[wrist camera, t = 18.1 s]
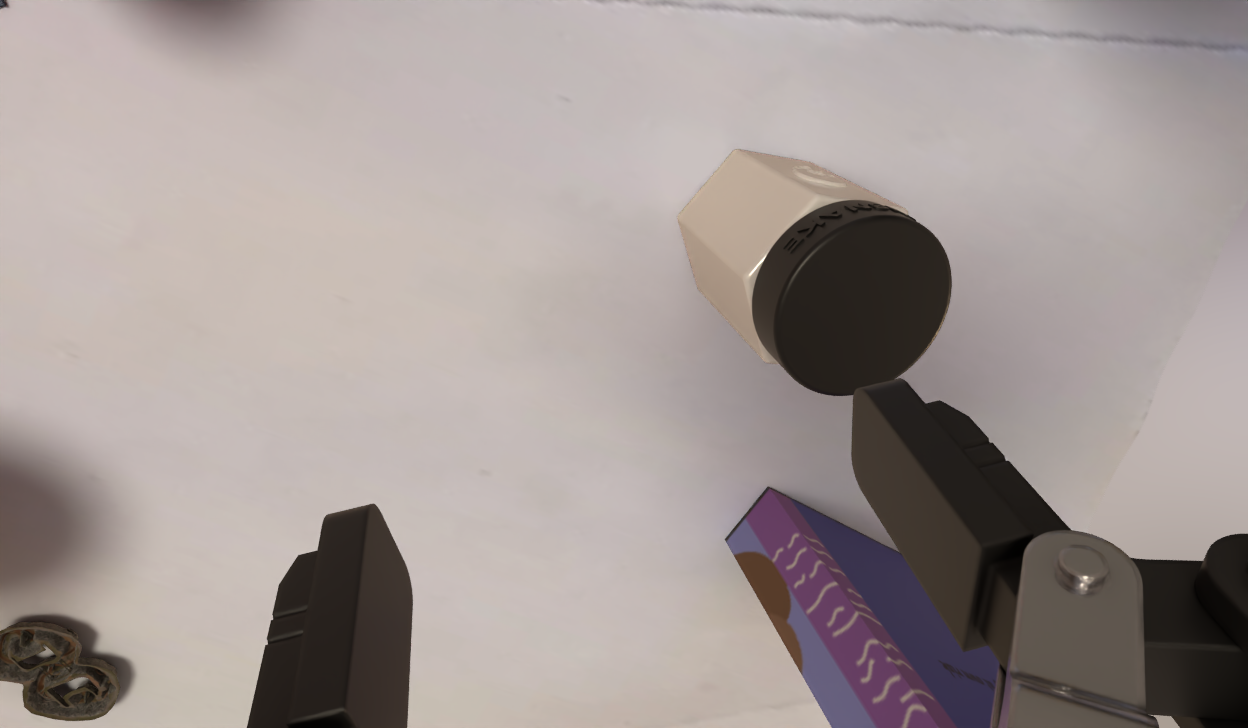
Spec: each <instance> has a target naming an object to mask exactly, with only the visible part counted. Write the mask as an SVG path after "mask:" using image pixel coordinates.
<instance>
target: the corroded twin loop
mask: <svg viewBox="0 0 1248 728" xmlns="http://www.w3.org/2000/svg"><path fill="white" fill-rule="evenodd" d="M42 644H45V645H46V646H47V647H48V648H49V649H50V650H51V651H53V652H54V654H55V655H56V657H52V658H47V659H45V660H43V661H41V662H39V663H38V664H28V663H23V661H22V660H24V659H26V658H29V657H31V656H33V655H36V654H38V653H40V652H42V651H45V650H46V649H45V648H44V647H43V645H42ZM81 650H82V646H81V644H80V643H79V642H78V635H77V634H76V633H75V632H74V631H73V630H71V629H66V628H62V627H60V626H58V625H56V624H51V623H46V622H31V623H26V622H20V623H17V624H15V625H12V626H9V627H7V628H6V629H4V630H1V631H0V681H7V682H14V683H20V684H23V686H24V689H23V701H24V707H25V708H26V709H27V710H29V711H30V712H31V713H33V714H35V715H40V716H44V717H47V718H52V719H57V720H66V721H84V720H93V719H96V718H99V717H101V716H104V715H105V714H107V713H108V711H109V710H111V709H112V707H113V706H114V704H115V702H116V699H117V696H118V693H119V690H120V685H119V682H118V679H117V672H116V668H115V667H113V666H111V665H109V664H108V663H106V662H105V661H104V660H102V659H95V658H83V657H80V656H79V655H80V653H81ZM79 677H86V678H88V679H89V680H90V681H91V682H92V683H93V684H94V685H95V686H96V687H97V688H98V689H97V688H95V687H93V686H91V685H90V684H86V685H83V686H81V687H78V689H77V690H74V691H71V692H69V693H68V694H66V695H65V696H63V698H62V697H61V696H60V695H59V694H58V693H57V692H55V690H54V689H53V687H56V686H58V685H61V684H64V683H66V682H69V681H71V680H73V679H75V678H79Z"/></svg>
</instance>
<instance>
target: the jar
mask: <svg viewBox="0 0 1248 728" xmlns="http://www.w3.org/2000/svg"><path fill="white" fill-rule="evenodd" d="M677 219H678V223H679V226H680V229H681V233H682V236H683V240H684V243H685V247H686V250H687V254H688V257H689V260H690V264H691V267H692V271H693V274H694V278H695V281H696V285H697V288H698V290H699V291H700V292H701V293H702V294H703V295H704V296H705V298H706V299H707V300H708V301H709V302H710V303H711V304H712V305H713V306H714V307H715V308H716V310H717V311H718V312H719V313H720V314H721V315H722V316H723V317H724V318H725V319H726V320H727V321H728V323H729V324H730V325H731V326H732V327H733V328H734V329H735V330H736V331H737V332H738V333H739V335H740V336H741V337H742V338H743V339H744V340H745V341H746V342H747V343H748V344H749V345H750V347H751V348H752V349H753V350H754V351H755V352H756V353H757V354H758V355H759V356H760V358H761V359H762V360H763V361H764V362H766V363H770V364H780V365H781V366H782V367H783V368H784V369H785V370H786V371H787V373H788V374H789V375H790V376H791V377H792V378H793V379H794V380H796V381H797V382H798V383H799V384H801V385H802V386H804V387H806V388H808V389H810V390H812V391H815V392H818V393H821V394H825V395H832V396H847V395H854V392H855V390H856V389H857V388H861V387H865V386H869V385H873V384H877V383H881V382H886V381H890V380H894V379H895V378H897V377H898V376H900V375H901V374H903V373H904V372H905V371H906V370H908V369H909V368H910V367H911V366H912V365H913V364H914V363H915V362H916V361H917V360H918V359H919V358H920V357H921V356H922V355H923V354H924V353H925V351H926V350H927V349H928V347H929V346H930V345H931V343H932V342H933V340H934V339H935V337H936V336H937V334H938V332H939V330H940V328H941V326H942V324H943V321H944V319H945V316H946V313H947V310H948V307H949V303H950V297H951V288H952V278H951V269H950V264H949V260H948V257H947V255H946V252H945V250H944V248H943V246H942V245H941V243H940V242H939V240H938V239H937V238H936V237H935V235H934V234H933V233H932V232H931V231H930V230H928V229H927V228H926V227H924V226H923V225H921V224H920V223H918V222H916V220H915V219H914V218H912V217H910V216H909V215H908V211H907V210H906V209H905V208H903V207H901V206H899V205H897V204H895V203H893V202H891V201H889V200H887V199H885V198H883V197H881V196H879V195H877V194H875V193H873V192H870V191H868V190H866V189H864V188H862V187H860V186H858V185H856V184H854V183H852V182H850V181H848V180H846V179H844V178H842V177H840V176H838V175H836V174H834V173H831V172H829V171H827V170H825V169H823V168H821V167H819V166H817V165H815V164H813V163H811V162H807V161H801V160H796V159H790V158H784V157H779V156H773V155H767V154H762V153H756V152H750V151H745V150H739V149H736V150H734V151H733V152H732V153H731V154H730V155H729V156H728V157H727V159H726V160H725V161H724V162H723V163H722V164H721V166H720V167H719V168H718V169H717V170H716V171H715V173H714V174H713V175H712V176H711V177H710V178H709V180H708V181H707V182H706V183H705V184H704V185H703V187H702V188H701V189H700V190H699V191H698V192H697V194H696V195H695V196H694V197H693V198H692V199H691V201H690V202H689V203H688V204H687V205H686V206H685V208H684V209H683V210H682V211H681V212H680V213H679V215H678V218H677Z"/></svg>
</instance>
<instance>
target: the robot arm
mask: <svg viewBox="0 0 1248 728" xmlns="http://www.w3.org/2000/svg"><path fill="white" fill-rule="evenodd" d="M851 456H852V465H853V470H854V473H855V477H856V480H857V482H858V485H859V487H860V489H861V491H862V492H863V494H864V496H865V497H866V499H867V501H868V502H869V504H870V505H871V507H872V508H873V510H874V512H875V513H876V515H877V516H878V518H879V519H880V521H881V523H882V524H883V526H884V527H885V529H886V531H887V532H888V534H889V535H890V537H891V538H892V540H893V542H894V543H895V545H896V546H897V548H898V550H899V551H900V553H901V554H902V556H903V557H904V559H905V561H906V562H907V564H908V565H909V567H910V569H911V570H912V572H913V573H914V575H915V576H916V578H917V580H918V581H919V583H920V584H921V586H922V588H923V589H924V591H925V592H926V594H927V595H928V597H929V599H930V600H931V602H932V603H933V605H934V607H935V608H936V610H937V611H938V613H939V614H940V616H941V618H942V619H943V621H944V622H945V624H946V626H947V627H948V629H949V630H950V632H951V633H952V635H953V637H954V638H955V640H956V641H957V643H958V645H959V646H960V648H961V649H962V651H963V652H966V651H970V650H974V649H977V648H981V647H985V646H989V648H990V649H991V651H992V652H993V654H994V655H995V657H996V658H997V660H998V661H999V665H998V669H997V675H996V682H995V690H994V698H993V705H992V713H991V721H990V728H1159V725H1158V722H1157V719H1156V718H1155V717H1154V716H1151V715H1163V716H1172V718H1173V719H1174V720H1175V722H1176V723H1177V724H1178V726H1179V727H1180V728H1248V534H1235V535H1229V536H1226V537H1223V538H1221V539H1219V540H1217V541H1216V542H1214V543H1213V544H1212V545H1211V546H1210V548H1209V550H1208V551H1207V554H1206V556H1205V558H1204V561H1182V560H1180V561H1179V560H1178V561H1177V560H1145V559H1134V558H1130V557H1129V556H1128V555H1127V554H1125V553H1124V552H1123V551H1122V550H1121V549H1119V548H1118V547H1116V546H1115V545H1114V544H1112V543H1110V542H1108V541H1106V540H1104V539H1102V538H1099V537H1097V536H1094V535H1092V534H1088V533H1084V532H1079V531H1072V530H1071V529H1070V528H1069V527H1068V526H1067V525H1066V524H1065V523H1064V522H1063V521H1062V520H1061V519H1060V517H1059V516H1058V515H1057V514H1056V513H1055V512H1054V511H1053V510H1052V509H1051V507H1050V506H1049V505H1048V504H1047V503H1046V502H1045V501H1044V500H1043V499H1042V497H1041V496H1040V495H1039V494H1038V493H1037V492H1036V491H1035V490H1034V488H1033V487H1032V486H1031V485H1030V484H1029V483H1028V482H1027V481H1026V480H1025V478H1024V477H1023V476H1022V475H1021V474H1020V473H1019V472H1018V471H1017V470H1016V468H1015V467H1014V466H1013V465H1012V464H1011V463H1010V462H1009V461H1006V460H1005V457H1004V455H1003V454H1002V453H1001V452H1000V451H999V449H998V448H997V447H996V446H995V445H994V444H993V443H990V442H989V438H988V437H987V436H986V435H985V434H984V433H983V432H982V431H981V429H980V428H979V427H978V426H977V425H976V424H975V423H974V422H973V421H972V419H971V418H970V417H969V416H967V415H965V414H963V413H962V412H960V411H958V410H956V409H955V408H953V407H951V406H949V405H947V404H946V403H944V402H942V401H940V400H939V401H935V402H931V403H927V404H925V403H924V402H923V401H922V399H921V398H920V397H919V396H918V395H917V393H916V392H915V391H914V390H913V389H912V388H911V386H910V385H909V384H908V383H907V382H906V381H905V380H903V379H901V378H898V379H894V380H890V381H886V382H881V383H877V384H873V385H869V386H865V387H861V388H857V389H856V390H855V392H854V395H853V418H852V452H851ZM412 609H413V595H412V587H411V581H410V577H409V573H408V570H407V567H406V564H405V562H404V560H403V558H402V556H401V554H400V551H399V549H398V547H397V545H396V543H395V541H394V539H393V537H392V535H391V533H390V531H389V528H388V526H387V524H386V522H385V520H384V518H383V516H382V514H381V512H380V510H379V508H378V507H377V506H376V505H375V504H369V505H365V506H361V507H357V508H353V509H349V510H345V511H340V512H336V513H332V514H328V515H326V516H325V518H324V520H323V524H322V529H321V535H320V540H319V546H318V551H314V552H310V553H306V554H302V555H298V557H297V558H296V560H295V561H294V563H293V564H292V566H291V567H290V569H289V570H288V572H287V573H286V575H285V576H284V578H283V580H282V581H281V583H280V584H279V588H278V592H277V596H276V601H275V605H274V610H273V614H272V615H273V620H271V623H270V628H269V632H268V637H267V640H268V645H265V650H264V654H263V659H262V663H261V668H260V672H259V677H258V681H257V685H256V690H255V694H254V699H253V703H252V708H251V712H250V717H249V721H248V725H247V728H407V719H408V697H409V675H410V653H411V631H412Z"/></svg>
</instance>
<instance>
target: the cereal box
mask: <svg viewBox="0 0 1248 728" xmlns="http://www.w3.org/2000/svg"><path fill="white" fill-rule="evenodd" d="M725 541H726V542H727V544H728V546H729V548H730V549H731V551H732V553H733V555H734V556H735V558H736V560H737V562H738V563H739V565H740V567H741V569H742V570H743V572H744V574H745V576H746V578H747V579H748V581H749V583H750V585H751V586H752V588H753V590H754V592H755V593H756V595H757V597H758V599H759V600H760V602H761V604H762V606H763V607H764V609H765V611H766V613H767V614H768V616H769V618H770V620H771V621H772V623H773V625H774V627H775V628H776V630H777V632H778V634H779V636H780V637H781V639H782V641H783V643H784V644H785V646H786V648H787V650H788V651H789V653H790V655H791V657H792V658H793V660H794V662H795V664H796V665H797V667H798V669H799V671H800V672H801V674H802V676H803V678H804V679H805V681H806V683H807V685H808V686H809V688H810V690H811V692H812V694H813V695H814V697H815V699H816V701H817V702H818V704H819V706H820V708H821V709H822V711H823V713H824V715H825V716H826V718H827V720H828V722H829V723H830V725H831V727H832V728H990V721H991V713H992V705H993V698H994V690H995V682H996V675H997V669H998V665H999V661H998V660H997V658H996V657H995V655H994V654H993V652H992V651H991V649H990V648H989V646H985V647H981V648H977V649H974V650H970V651H966V652H963V651H962V649H961V648H960V646H959V645H958V643H957V641H956V640H955V638H954V637H953V635H952V633H951V632H950V630H949V629H948V627H947V626H946V624H945V622H944V621H943V619H942V618H941V616H940V614H939V613H938V611H937V610H936V608H935V607H934V605H933V603H932V602H931V600H930V599H929V597H928V595H927V594H926V592H925V591H924V589H923V588H922V586H921V584H920V583H919V581H918V580H917V578H916V576H915V575H914V573H913V572H912V570H911V569H910V567H909V565H908V564H907V562H906V561H905V559H904V557H903V556H902V554H901V553H899V552H897V551H895V550H893V549H891V548H889V547H887V546H885V545H883V544H881V543H879V542H877V541H875V540H873V539H871V538H869V537H867V536H865V535H863V534H861V533H860V532H858V531H856V530H854V529H852V528H850V527H848V526H846V525H844V524H842V523H840V522H838V521H836V520H834V519H832V518H830V517H828V516H826V515H824V514H822V513H820V512H818V511H816V510H814V509H812V508H810V507H808V506H806V505H804V504H802V503H800V502H798V501H796V500H794V499H792V498H790V497H788V496H786V495H784V494H782V493H780V492H778V491H776V490H774V489H772V488H770V487H767V489H766V490H765V491H764V492H763V494H762V495H761V496H760V497H759V498H758V500H757V501H756V502H755V503H754V505H753V506H752V507H751V508H750V509H749V511H748V512H747V513H746V514H745V516H744V517H743V518H742V519H741V521H740V522H739V523H738V524H737V525H736V527H735V528H734V529H733V530H732V532H731V533H730V534H729V535H728V536H727V538H726V539H725Z"/></svg>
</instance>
